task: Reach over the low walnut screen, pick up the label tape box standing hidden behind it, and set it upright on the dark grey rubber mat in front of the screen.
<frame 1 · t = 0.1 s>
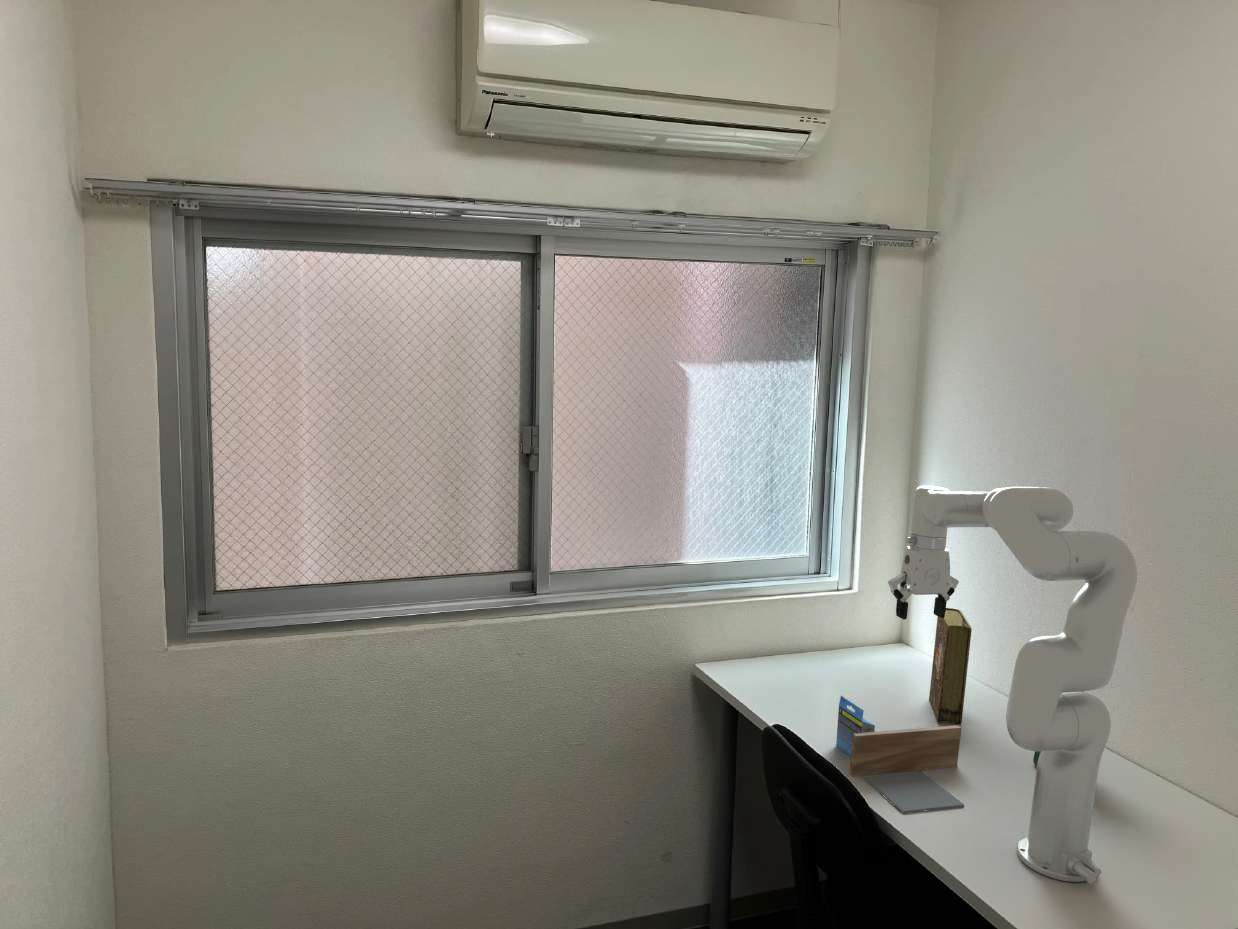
hand: (920, 617, 195), 31 cm above the table, tool pointing down, fingers open, 9 cm apart
walnut screen: (904, 770, 189), on the table
coffee jar: (1057, 771, 193), on the table
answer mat: (912, 792, 179), on the table
book: (943, 713, 222), on the table
label tape box: (853, 754, 196), on the table
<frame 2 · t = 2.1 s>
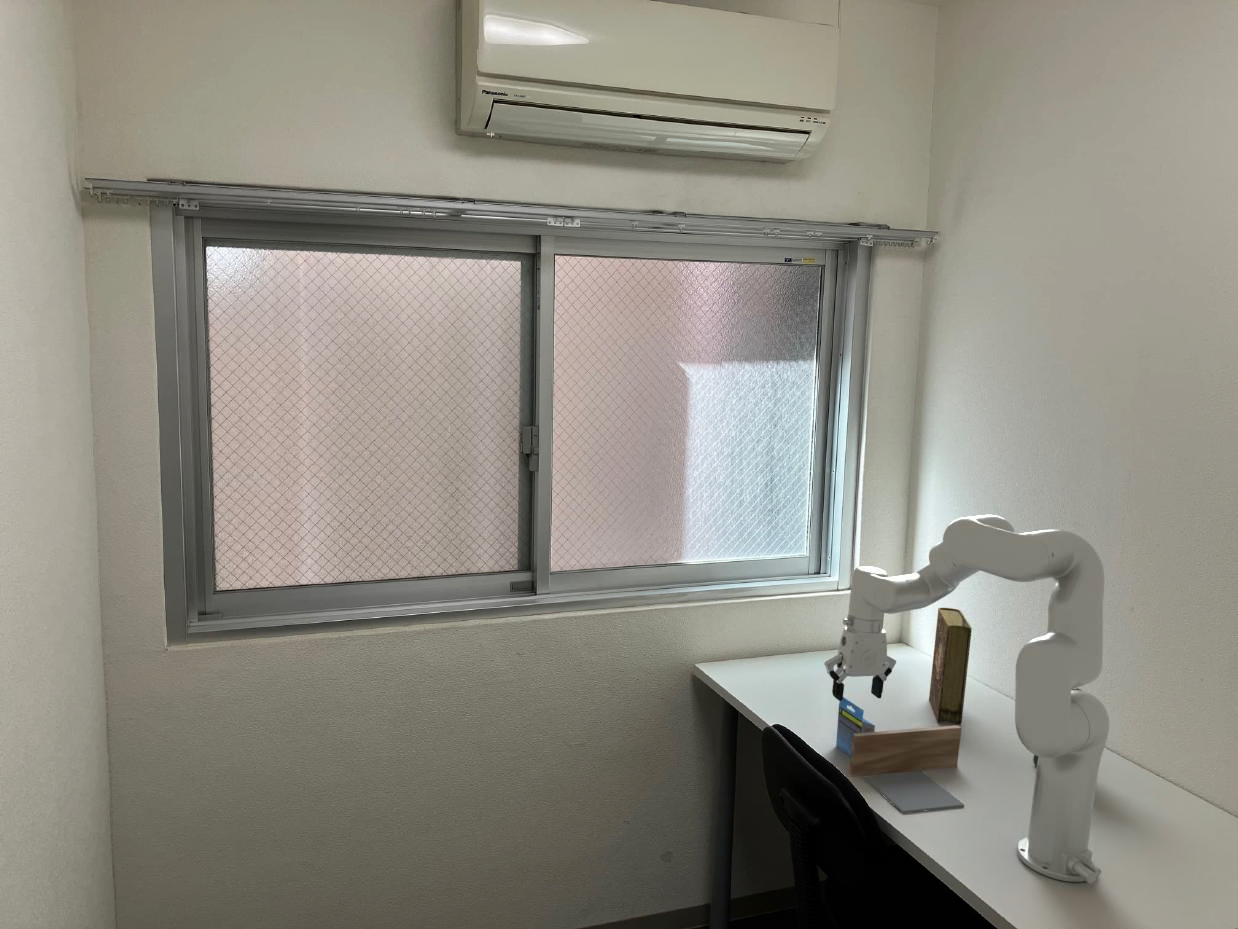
hand: (856, 697, 194), 13 cm above the table, tool pointing down, fingers open, 9 cm apart
nothing on the table moved.
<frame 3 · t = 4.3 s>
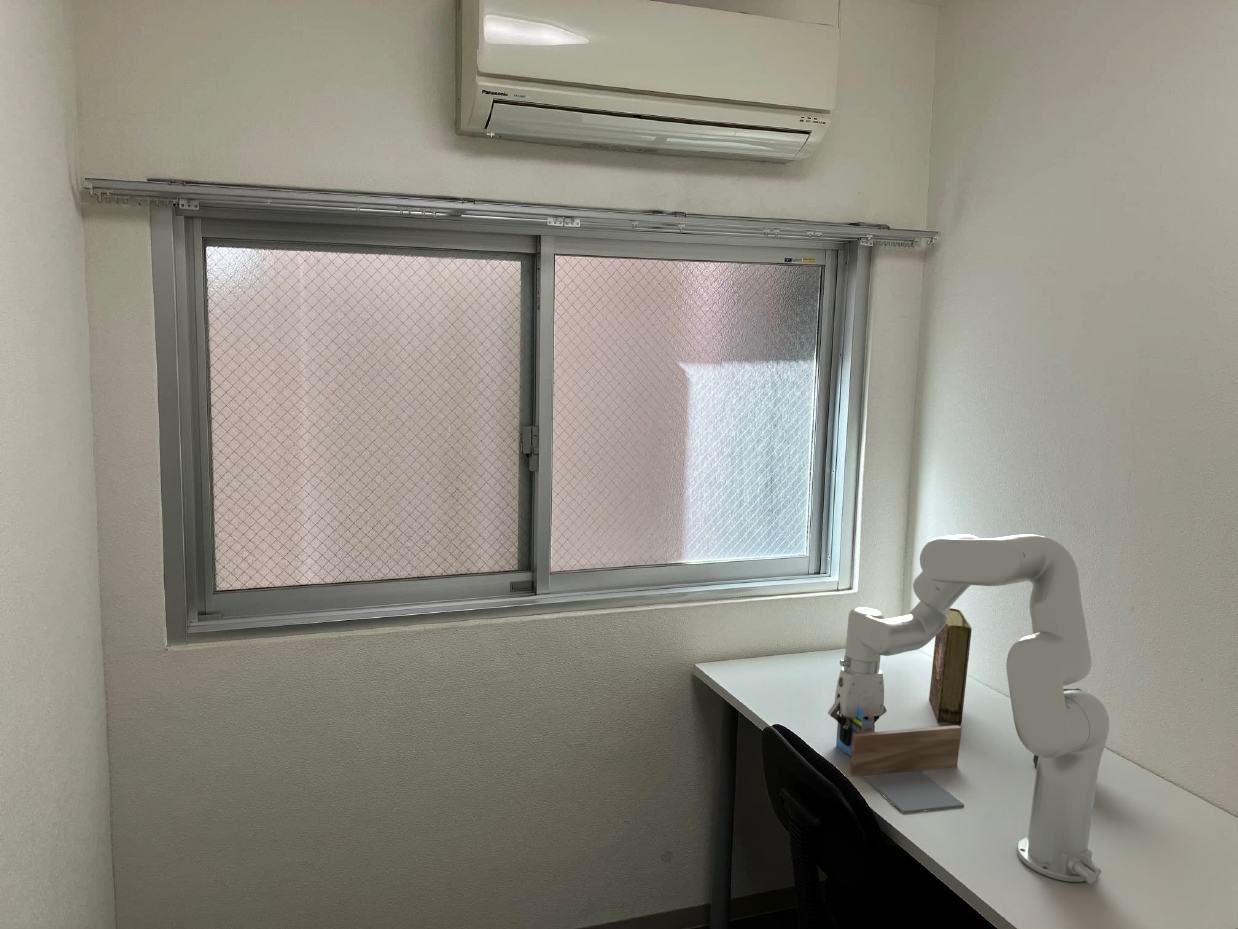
hand: (854, 741, 195), 3 cm above the table, tool pointing down, fingers closed on label tape box, 4 cm apart
label tape box: (853, 754, 196), on the table, touching gripper
everything else where it was.
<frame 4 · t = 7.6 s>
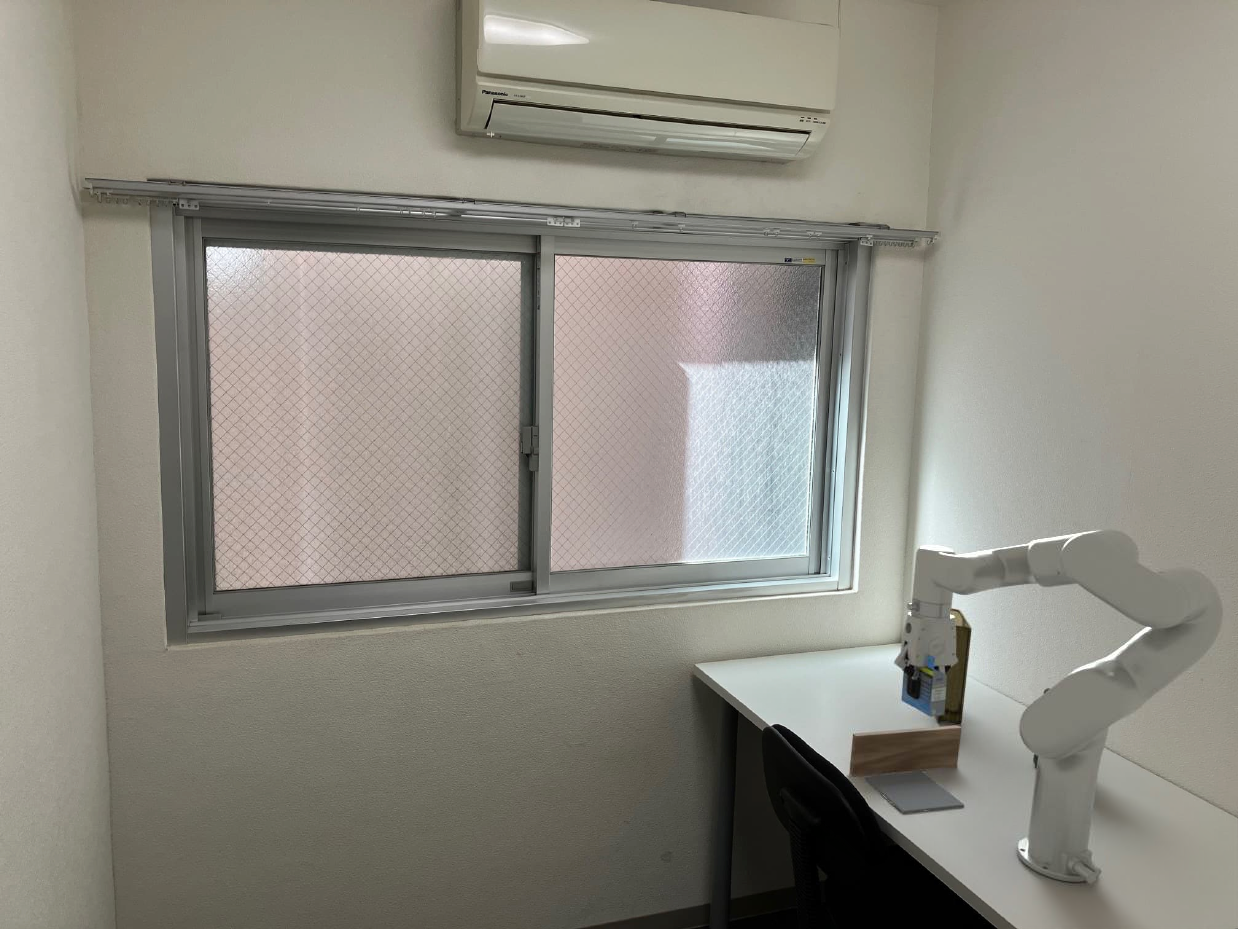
hand: (923, 695, 176), 21 cm above the table, tool pointing down, fingers closed on label tape box, 4 cm apart
label tape box: (921, 709, 177), point 18 cm above the table, touching gripper
everything else where it was.
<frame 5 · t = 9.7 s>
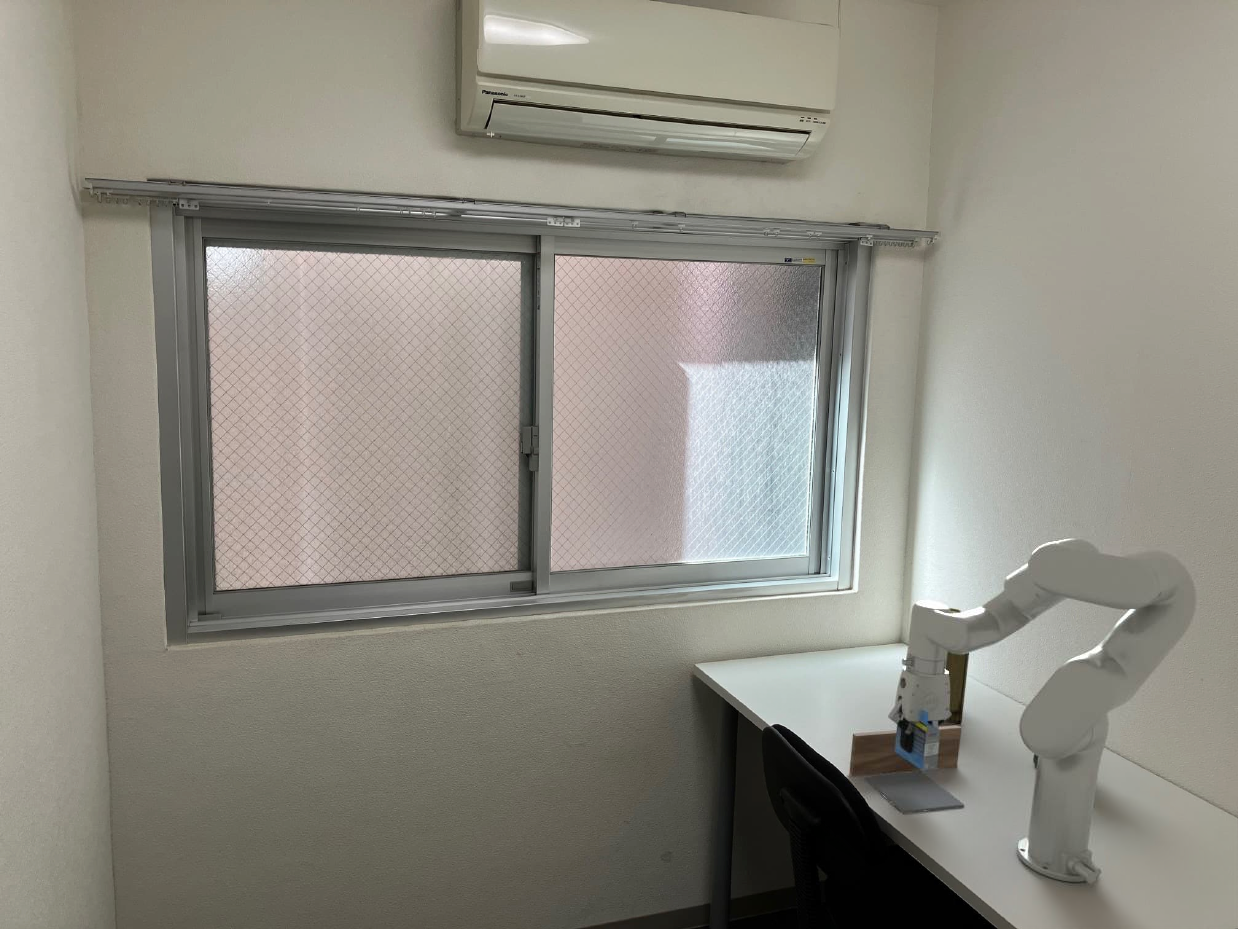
hand: (916, 748, 178), 10 cm above the table, tool pointing down, fingers closed on label tape box, 4 cm apart
label tape box: (914, 761, 179), point 7 cm above the table, touching gripper
everything else where it was.
when the fingers open (5 cm above the table, at t = 11.4 s): label tape box drops 1 cm, resting on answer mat.
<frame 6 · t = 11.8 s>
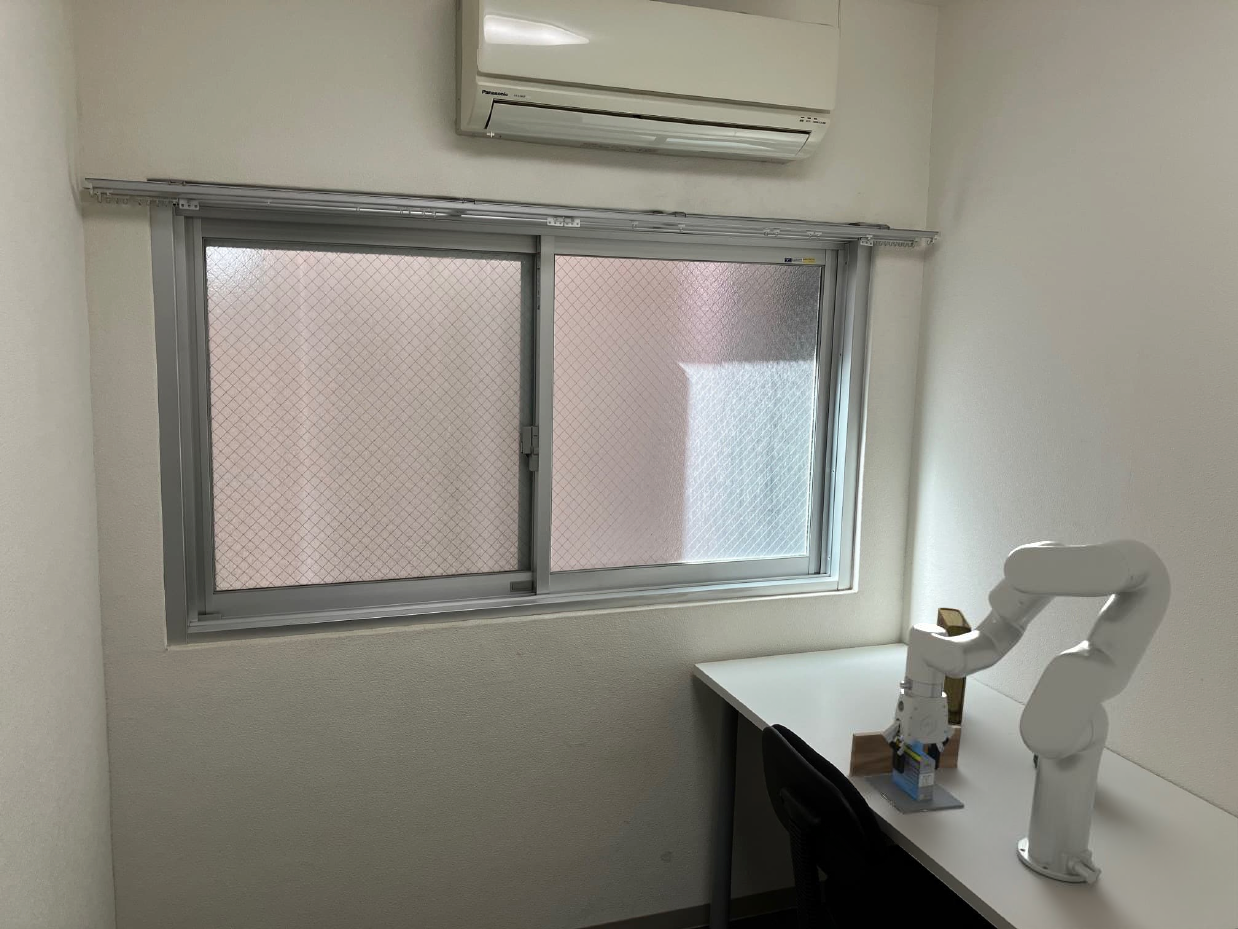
hand: (915, 768, 178), 5 cm above the table, tool pointing down, fingers open, 7 cm apart
label tape box: (911, 791, 179), resting on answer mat
everything else where it was.
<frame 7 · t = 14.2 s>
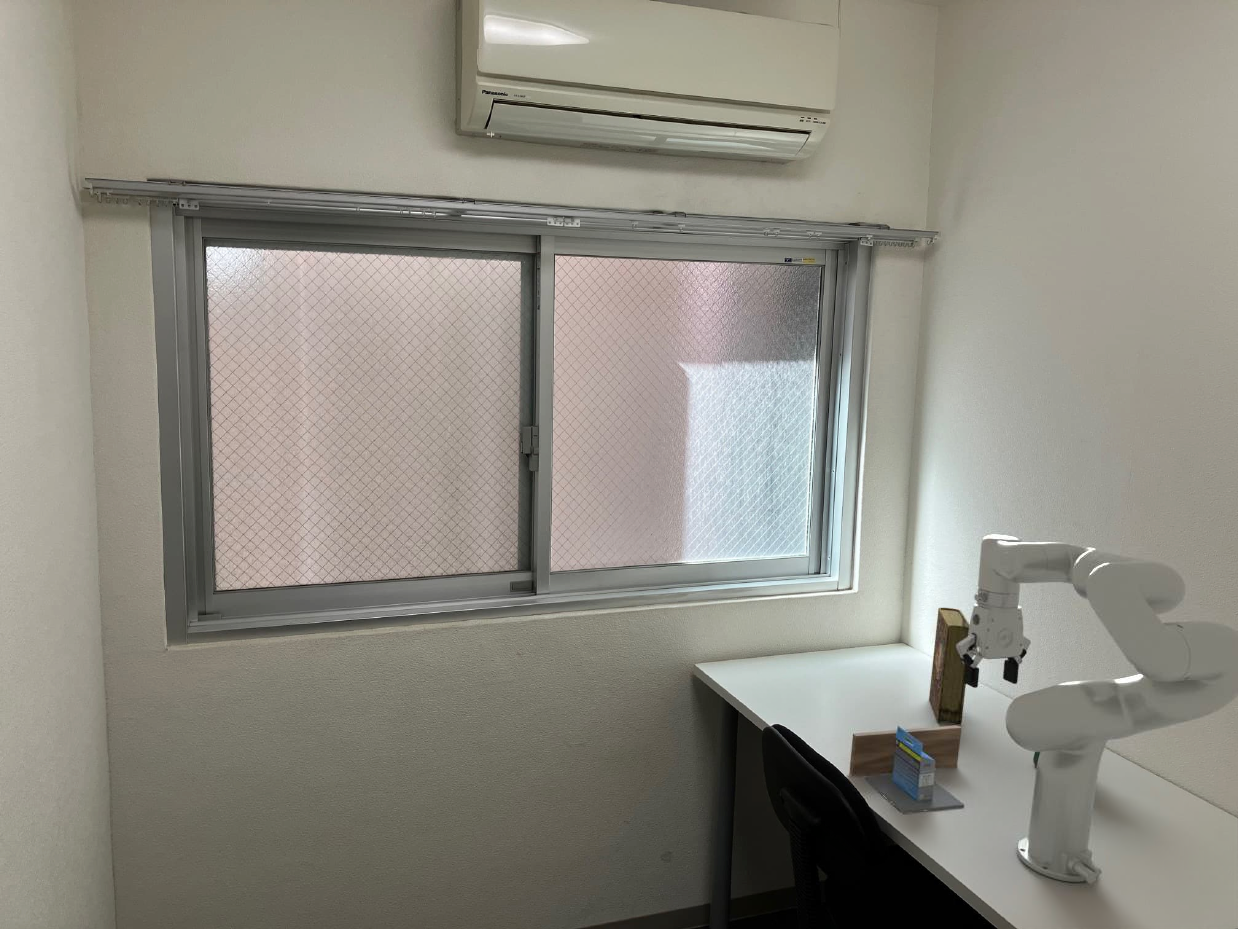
hand: (990, 683, 173), 25 cm above the table, tool pointing down, fingers open, 9 cm apart
nothing on the table moved.
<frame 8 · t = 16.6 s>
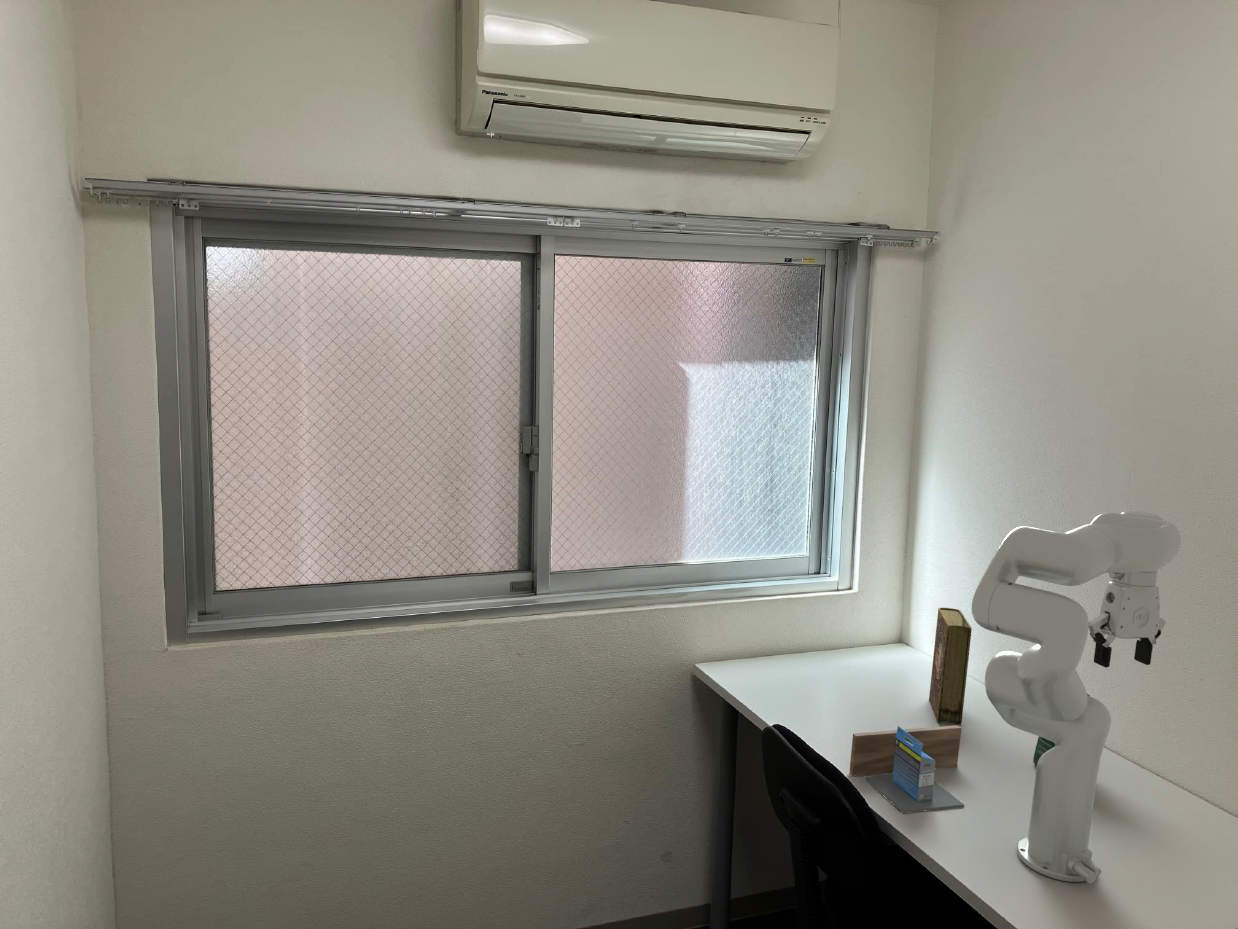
hand: (1121, 663, 167), 32 cm above the table, tool pointing down, fingers open, 9 cm apart
nothing on the table moved.
at the end: label tape box inside the target area (0.4 cm from its centre), resting on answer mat; label tape box tilted 0°; the gripper is holding nothing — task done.
